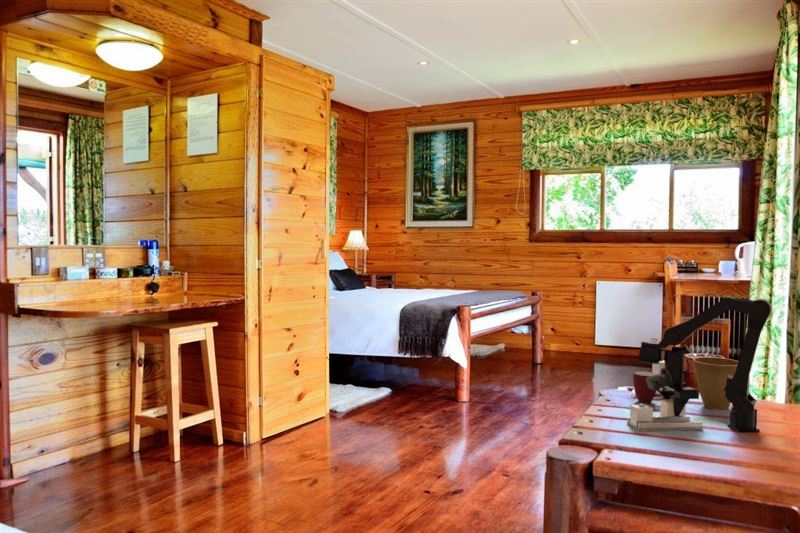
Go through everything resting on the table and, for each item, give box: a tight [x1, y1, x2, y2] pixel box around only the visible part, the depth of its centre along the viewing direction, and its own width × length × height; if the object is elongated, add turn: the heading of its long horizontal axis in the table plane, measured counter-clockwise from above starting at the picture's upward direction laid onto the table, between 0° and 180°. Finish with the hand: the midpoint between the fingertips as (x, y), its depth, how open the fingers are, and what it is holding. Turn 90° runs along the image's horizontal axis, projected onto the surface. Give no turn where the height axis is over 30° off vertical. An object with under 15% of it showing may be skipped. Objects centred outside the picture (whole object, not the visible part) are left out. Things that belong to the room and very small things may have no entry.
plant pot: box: [693, 356, 739, 411], centre depth 215 cm, size 15×15×16 cm
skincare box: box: [651, 359, 665, 395], centre depth 235 cm, size 6×4×12 cm
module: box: [659, 398, 686, 416], centre depth 201 cm, size 6×4×6 cm, turn 98°
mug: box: [632, 370, 662, 404], centre depth 221 cm, size 10×8×10 cm
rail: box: [626, 403, 704, 432], centre depth 191 cm, size 20×8×7 cm, turn 98°
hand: (672, 414), depth 201 cm, fingers closed on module, 4 cm apart
